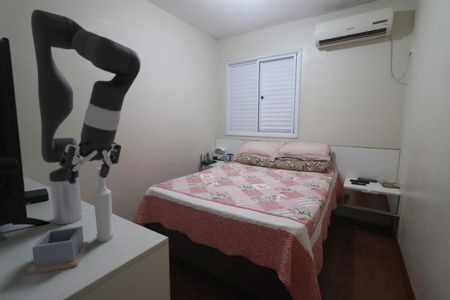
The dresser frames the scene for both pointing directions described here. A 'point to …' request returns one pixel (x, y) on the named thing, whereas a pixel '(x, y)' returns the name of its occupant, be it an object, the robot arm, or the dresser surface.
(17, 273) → the dresser surface
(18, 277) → the dresser surface
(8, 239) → the dresser surface
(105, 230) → the bottle
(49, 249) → the sleeve
